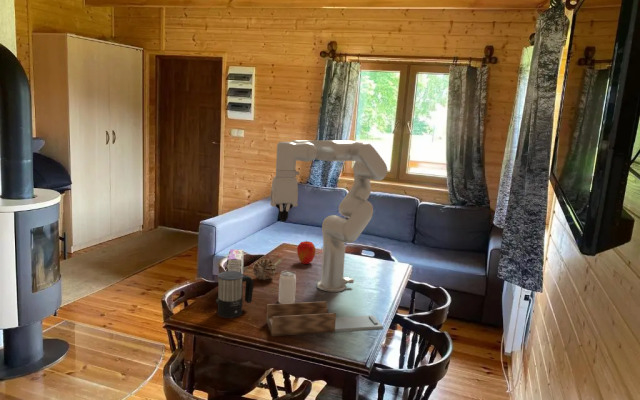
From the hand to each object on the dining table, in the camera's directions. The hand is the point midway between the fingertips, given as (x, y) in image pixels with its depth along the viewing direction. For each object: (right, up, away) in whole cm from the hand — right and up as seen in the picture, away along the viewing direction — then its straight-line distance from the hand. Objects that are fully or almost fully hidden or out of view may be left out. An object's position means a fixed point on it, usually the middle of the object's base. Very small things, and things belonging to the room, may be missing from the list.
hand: (283, 220), depth 191 cm
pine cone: (-9, -27, +30) cm, 41 cm away
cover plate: (+27, -37, -14) cm, 48 cm away
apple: (+7, -24, +53) cm, 59 cm away
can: (+1, -33, +2) cm, 33 cm away
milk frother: (-20, -33, -7) cm, 40 cm away
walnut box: (+7, -37, -19) cm, 42 cm away
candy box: (-21, -30, +9) cm, 38 cm away
